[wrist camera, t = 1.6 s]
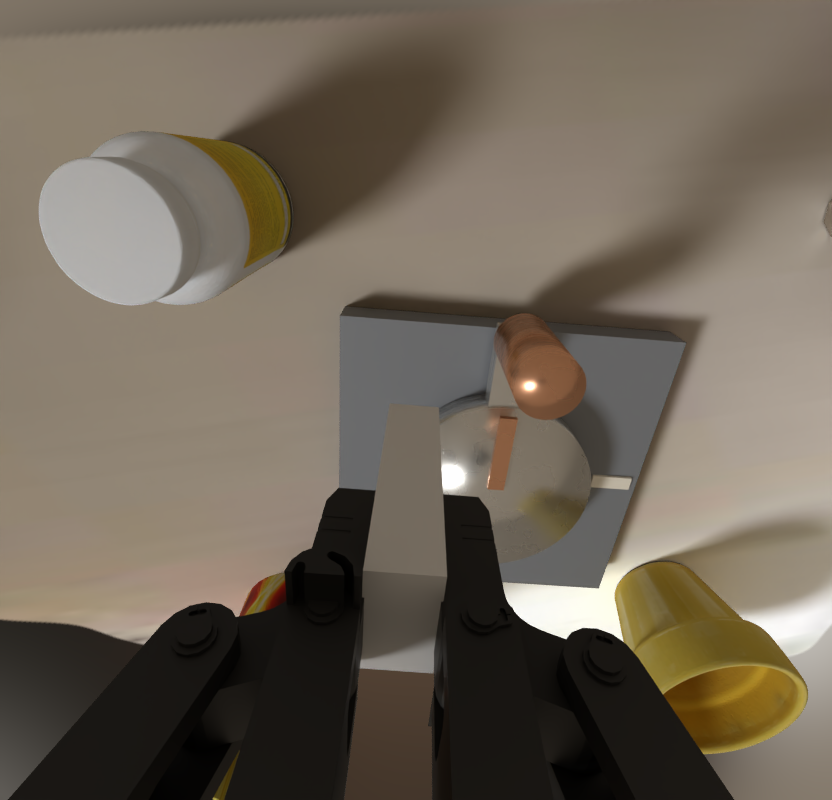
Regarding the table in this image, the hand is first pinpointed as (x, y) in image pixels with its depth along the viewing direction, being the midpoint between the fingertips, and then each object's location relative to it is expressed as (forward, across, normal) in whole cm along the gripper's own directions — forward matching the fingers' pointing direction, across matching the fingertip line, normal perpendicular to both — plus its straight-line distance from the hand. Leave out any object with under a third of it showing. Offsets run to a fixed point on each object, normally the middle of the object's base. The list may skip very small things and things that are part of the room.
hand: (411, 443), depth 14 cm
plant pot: (+16, +22, -22) cm, 34 cm away
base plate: (+15, +6, -10) cm, 19 cm away
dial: (+13, +6, -7) cm, 16 cm away
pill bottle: (+15, -10, +5) cm, 19 cm away
